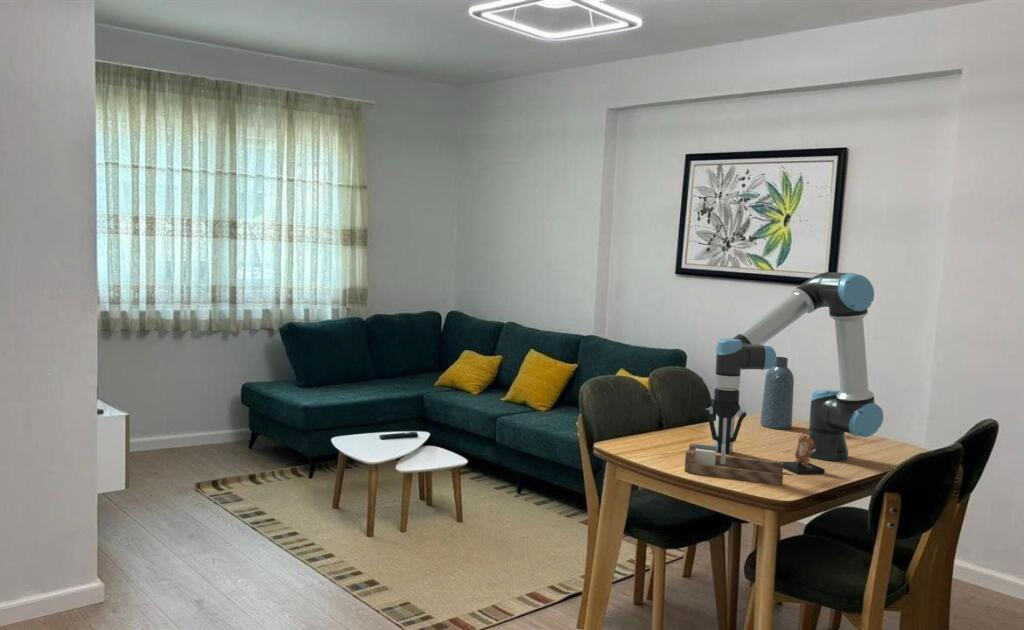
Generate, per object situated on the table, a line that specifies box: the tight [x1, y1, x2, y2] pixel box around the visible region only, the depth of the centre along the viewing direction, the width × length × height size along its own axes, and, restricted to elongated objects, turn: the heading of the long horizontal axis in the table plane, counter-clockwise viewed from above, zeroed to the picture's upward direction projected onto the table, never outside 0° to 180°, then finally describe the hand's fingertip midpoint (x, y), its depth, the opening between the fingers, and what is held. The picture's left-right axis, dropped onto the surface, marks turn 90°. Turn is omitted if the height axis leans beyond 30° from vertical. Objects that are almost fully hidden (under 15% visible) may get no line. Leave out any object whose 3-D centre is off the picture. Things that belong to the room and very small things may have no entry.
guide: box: [684, 443, 784, 486], centre depth 264 cm, size 29×17×6 cm, turn 72°
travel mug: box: [713, 413, 736, 455], centre depth 292 cm, size 6×7×20 cm
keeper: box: [694, 443, 717, 466], centre depth 267 cm, size 6×6×7 cm
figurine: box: [780, 432, 826, 476], centre depth 272 cm, size 10×10×12 cm
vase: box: [759, 356, 795, 430], centre depth 342 cm, size 12×12×28 cm
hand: (722, 462), depth 265 cm, fingers closed
